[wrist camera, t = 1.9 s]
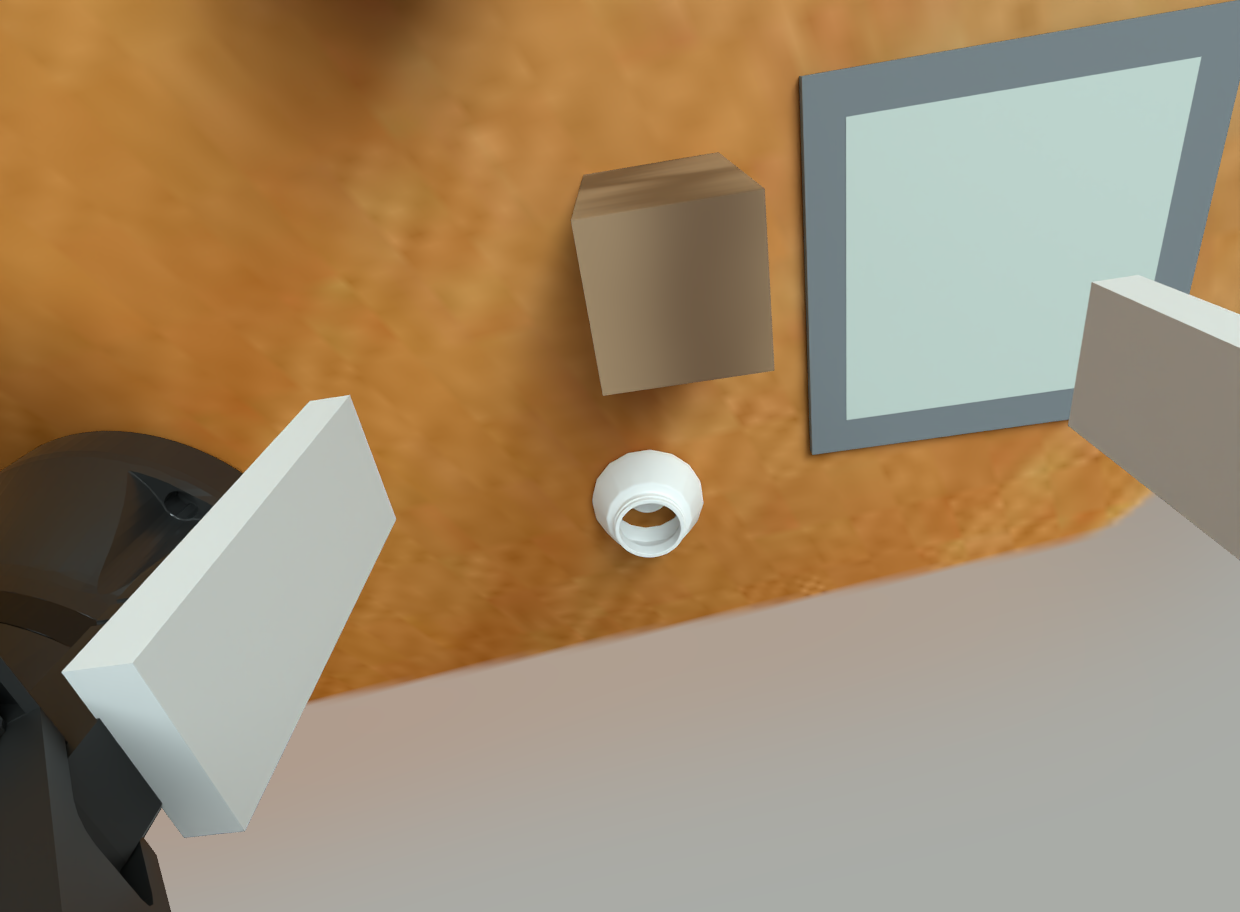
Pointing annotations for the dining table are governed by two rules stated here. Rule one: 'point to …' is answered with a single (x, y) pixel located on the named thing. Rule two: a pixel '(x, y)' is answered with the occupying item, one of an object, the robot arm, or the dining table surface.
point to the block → (675, 273)
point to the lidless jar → (647, 500)
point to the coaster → (998, 215)
